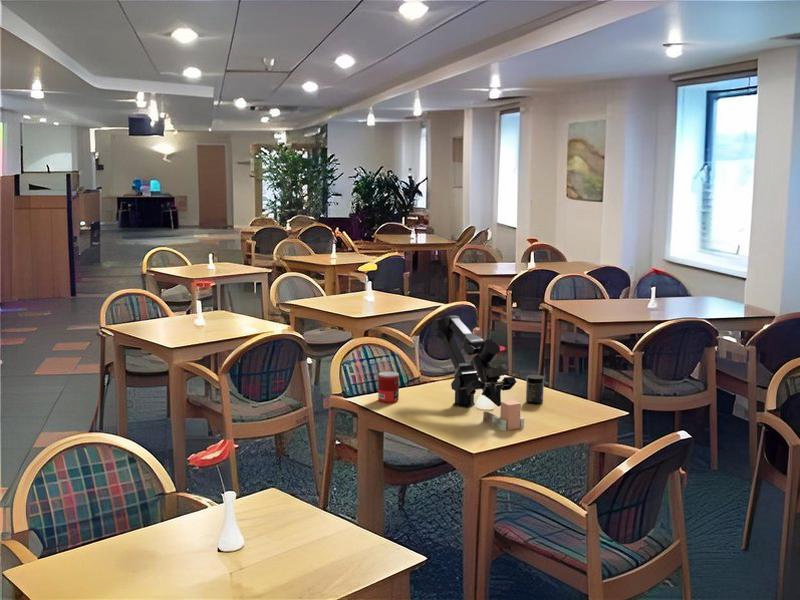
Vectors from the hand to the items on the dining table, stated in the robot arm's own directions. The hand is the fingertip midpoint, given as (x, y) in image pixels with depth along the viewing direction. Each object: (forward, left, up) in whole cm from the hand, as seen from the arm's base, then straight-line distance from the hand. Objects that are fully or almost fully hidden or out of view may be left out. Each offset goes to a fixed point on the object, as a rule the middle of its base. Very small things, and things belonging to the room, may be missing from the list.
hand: (499, 405), depth 303 cm
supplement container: (0, +31, -6) cm, 32 cm away
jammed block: (+6, -3, -6) cm, 9 cm away
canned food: (-48, 0, -6) cm, 49 cm away
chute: (+2, -1, -6) cm, 7 cm away
